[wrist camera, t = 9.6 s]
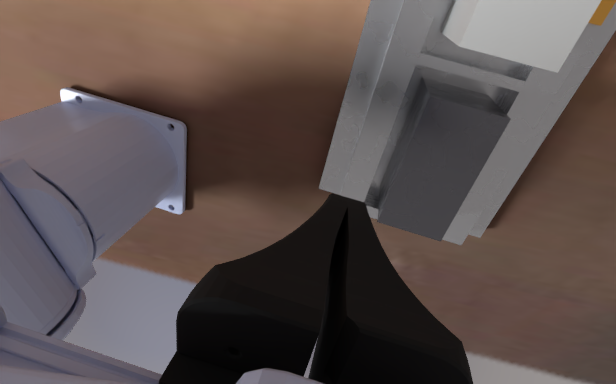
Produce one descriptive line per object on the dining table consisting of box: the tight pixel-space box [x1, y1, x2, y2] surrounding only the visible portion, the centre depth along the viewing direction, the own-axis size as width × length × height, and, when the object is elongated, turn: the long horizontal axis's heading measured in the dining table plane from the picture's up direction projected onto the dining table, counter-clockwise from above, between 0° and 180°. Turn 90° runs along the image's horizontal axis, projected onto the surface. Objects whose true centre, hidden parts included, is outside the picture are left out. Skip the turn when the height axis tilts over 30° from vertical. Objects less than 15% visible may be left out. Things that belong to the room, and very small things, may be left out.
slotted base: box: [319, 0, 616, 245], centre depth 16 cm, size 11×19×5 cm, turn 167°
